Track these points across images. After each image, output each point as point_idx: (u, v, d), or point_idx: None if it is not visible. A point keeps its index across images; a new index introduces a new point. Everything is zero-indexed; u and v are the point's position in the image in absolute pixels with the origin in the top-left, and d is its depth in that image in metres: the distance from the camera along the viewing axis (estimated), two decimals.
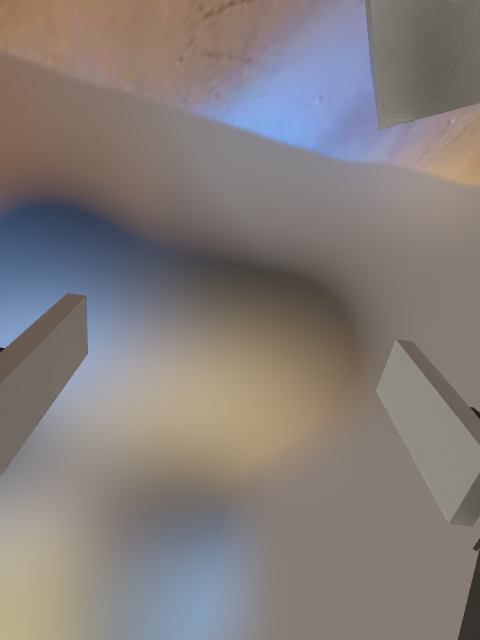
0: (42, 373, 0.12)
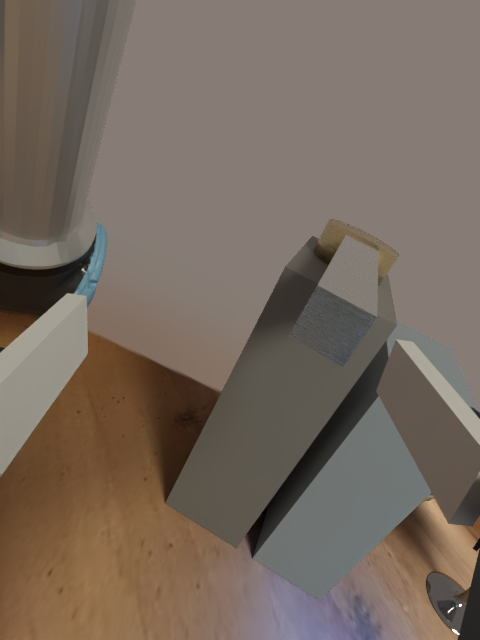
0: (42, 373, 0.12)
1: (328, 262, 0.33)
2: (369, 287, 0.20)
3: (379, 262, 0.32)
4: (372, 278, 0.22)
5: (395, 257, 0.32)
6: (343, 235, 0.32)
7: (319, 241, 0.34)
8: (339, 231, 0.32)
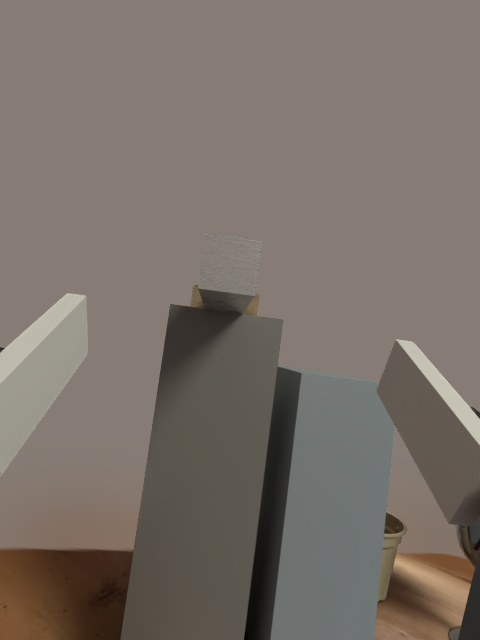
0: (42, 373, 0.12)
1: None
2: None
3: None
4: None
5: (257, 295, 0.38)
6: None
7: (191, 304, 0.38)
8: None
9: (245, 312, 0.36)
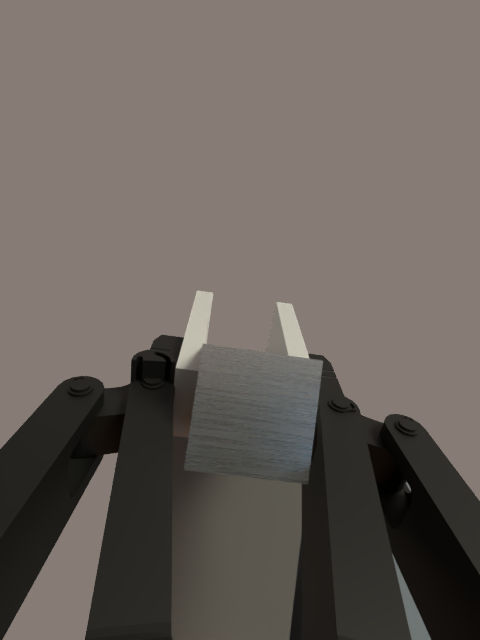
0: None
1: None
2: None
3: None
4: None
5: None
6: None
7: None
8: None
9: None
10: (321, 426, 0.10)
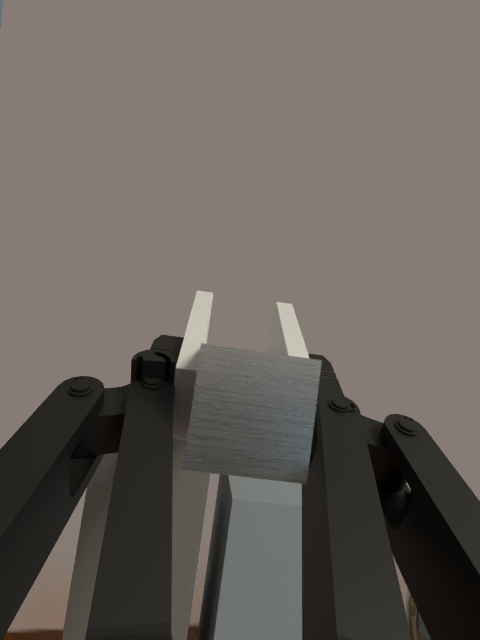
0: None
1: None
2: None
3: None
4: None
5: None
6: None
7: None
8: None
9: None
10: (321, 426, 0.10)
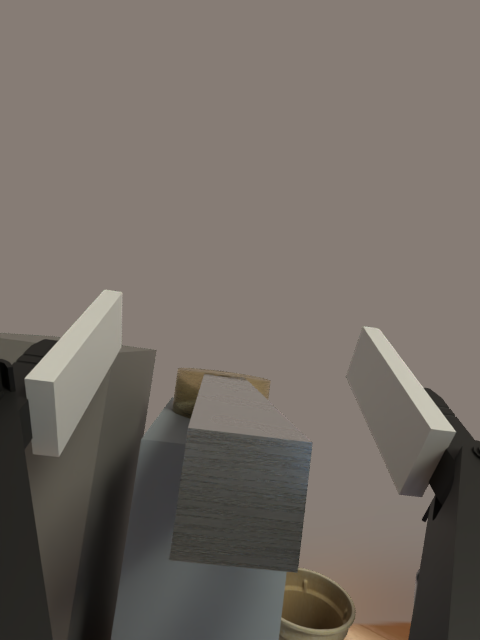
0: (90, 363, 0.13)
1: None
2: (267, 410, 0.13)
3: None
4: (262, 401, 0.15)
5: (268, 383, 0.27)
6: (201, 377, 0.25)
7: (175, 396, 0.27)
8: (194, 374, 0.25)
9: None
10: (460, 470, 0.10)
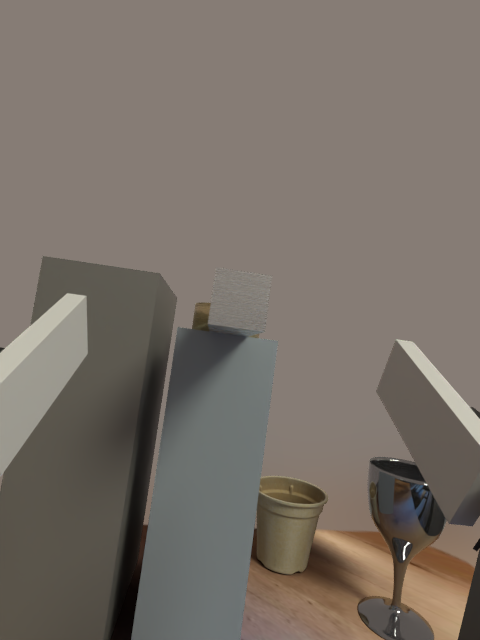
0: (42, 373, 0.12)
1: (209, 331, 0.36)
2: None
3: None
4: None
5: None
6: None
7: (194, 321, 0.38)
8: (208, 303, 0.36)
9: None
10: None
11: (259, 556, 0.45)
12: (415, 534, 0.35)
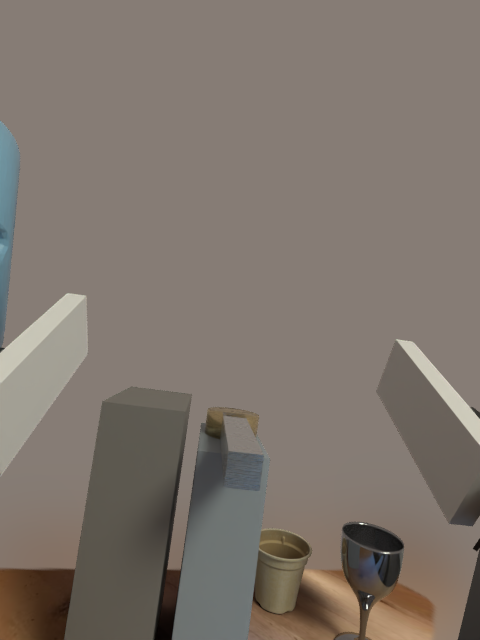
0: (42, 373, 0.12)
1: (219, 437, 0.47)
2: (252, 442, 0.36)
3: (250, 424, 0.48)
4: (251, 436, 0.38)
5: (257, 418, 0.50)
6: (221, 416, 0.48)
7: (207, 425, 0.49)
8: (218, 414, 0.48)
9: None
10: None
11: (257, 598, 0.57)
12: (374, 589, 0.47)
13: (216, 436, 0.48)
